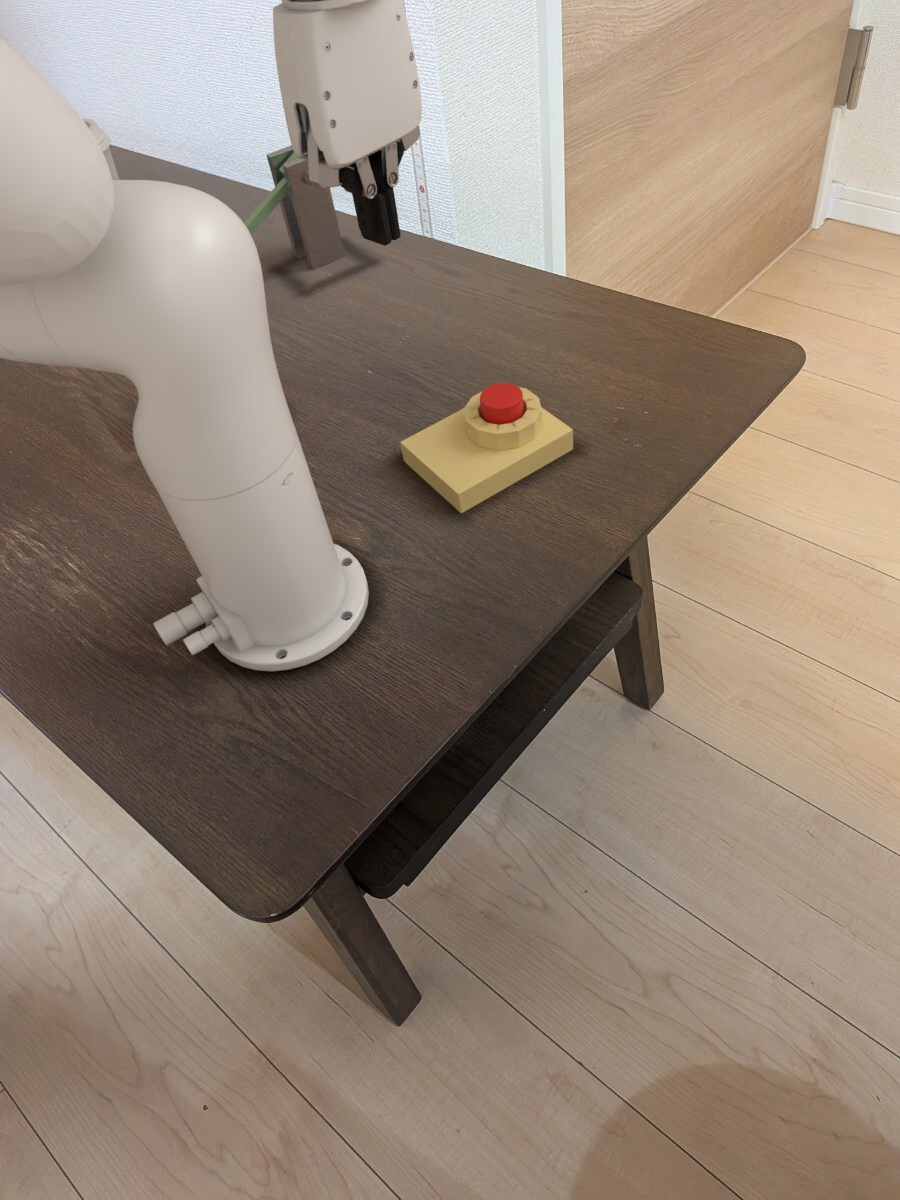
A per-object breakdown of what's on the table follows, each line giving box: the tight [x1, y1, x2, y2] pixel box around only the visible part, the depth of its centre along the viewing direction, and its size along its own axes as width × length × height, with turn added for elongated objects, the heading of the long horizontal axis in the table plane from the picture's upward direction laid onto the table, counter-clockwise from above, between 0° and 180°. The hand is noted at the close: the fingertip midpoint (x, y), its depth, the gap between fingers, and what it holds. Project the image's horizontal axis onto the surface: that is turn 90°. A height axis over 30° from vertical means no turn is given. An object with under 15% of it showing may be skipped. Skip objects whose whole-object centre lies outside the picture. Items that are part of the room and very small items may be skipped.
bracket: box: [266, 144, 346, 271], centre depth 94 cm, size 9×8×13 cm
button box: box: [399, 386, 574, 514], centre depth 71 cm, size 12×9×4 cm
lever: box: [243, 153, 298, 237], centre depth 91 cm, size 13×3×3 cm, turn 124°
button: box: [480, 382, 524, 425], centre depth 70 cm, size 4×4×2 cm
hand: (381, 237), depth 69 cm, fingers closed
